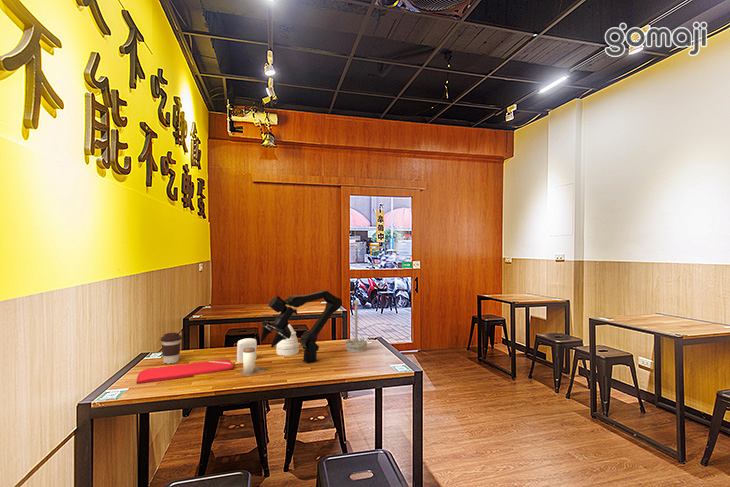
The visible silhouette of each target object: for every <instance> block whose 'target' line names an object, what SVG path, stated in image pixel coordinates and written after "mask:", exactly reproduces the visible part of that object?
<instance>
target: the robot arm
mask: <svg viewBox="0 0 730 487" xmlns="http://www.w3.org/2000/svg"><path fill="white" fill-rule="evenodd" d="M318 300H324V301H325V302H326V304H325V308H324V310H323V311H322V313H321V314H320V316H319V317H318V318H317V320H316V321H315V323H314V324H313V326H312V327H311V329H310V330H308V331H307V330H304V332H303V333H302V335H301V336H300V338H299V345H300V346H301V347H302V349H303V352H304V353H303V359H302V360H301V362H303V363H306V364H313V363H316V362H319V359H318V356H317V355H318V351H319V349H320V346H319V345H318V344H317V343H316V342H317V341H318V335H319V333H320V332H321V330H322V329H323V327H324V326H325V325H326V323H327V322H329V319H330V318H331V317H332V315H333V314H335V312H337V311H338V310H339V309H341V307H342V305H343V301H342V299H341V298H340V297H337V296H336V295H334V294H332V293H331V292H329V291H328V290H320V291H316V292H311V293H308V294H303V295H300V294H299V295H297V294H296V295H289V296H288V298H286V299H282V298H281V296H280V295H275V296H274V297H273V298H272V299H271V300H269V302H268V307H269V308H270V309H271V310H273V311H274V312H276V313H279V314H278V315H276V316H275V318H276V319H275V320H274V322H270V321H267V320H266V319H265V320H263V321H262V323H261V327H262V328H261V336H260V343H263V342H264V341H265V340H266V339H267V337H268V335H269V334H271V333H273V331H275V335H274V337H273V339H272V341H271V345H270V348H274V347H275V346H277V344H278V343H279V342H280V341H281V340H285V339H286V338H288V339H289V338H290V337H291V331H290V329H289V327H288V325H289V324H290V323H289V321H290V319H291V317H292V316H293V315H298V309H297V308H300V307H303V306H304V305H306V304H308V303H311V302H314V301H318Z"/></svg>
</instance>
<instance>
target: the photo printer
mask: <svg viewBox="0 0 730 487" xmlns="http://www.w3.org/2000/svg"><path fill="white" fill-rule="evenodd" d="M257 344H258V343H257V339H256V338H252V337H250V338H249V337H248V338H243V339H240V340H238V341H237V344H236V362H237V363H243V349H244V348H249V347H252V348H255V361H256V360H257V349H258V348H257V347H258V346H257Z"/></svg>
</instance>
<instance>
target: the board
mask: <svg viewBox="0 0 730 487" xmlns="http://www.w3.org/2000/svg"><path fill="white" fill-rule="evenodd" d="M267 371H269V369H267V368H264V367H261V366H257V365H255V372H253V373H249V374H245V373H243V369H241V370H238V371H237V370H236V371H235V372H236V373H238V374H241V375H243V376H246V377H249V376H252V375H256V374H260V373H264V372H267Z"/></svg>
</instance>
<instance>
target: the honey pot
mask: <svg viewBox="0 0 730 487" xmlns="http://www.w3.org/2000/svg"><path fill="white" fill-rule="evenodd" d="M288 327H289V329H290V331H291V337H290V338H289V339H288V338H286V339H285V340H281V341H280V342H279V343H278V344H276V349H275V350H276V351H275V352H276V353H275V354H276V355H278V356H282V355H283V356H287V357H288V356H294V355H298V354H299V353H300V350H299V349H300V342H299V341H298V337H297V335H296V334H297V332H296V331H295V329H294V328H293V326H292V325H291V324H290V323H289V325H288Z"/></svg>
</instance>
